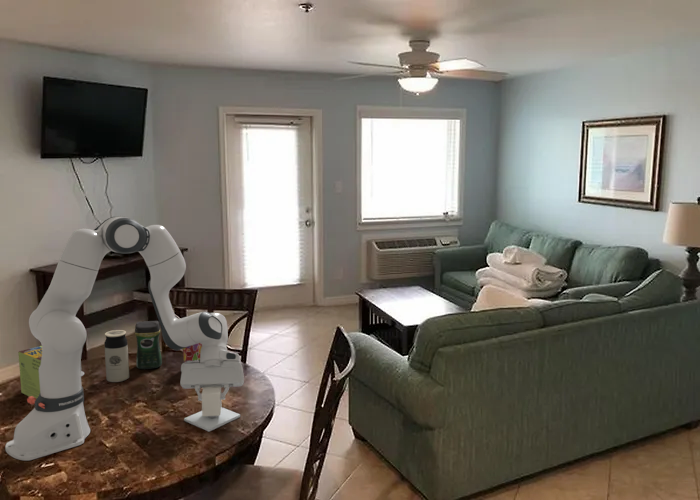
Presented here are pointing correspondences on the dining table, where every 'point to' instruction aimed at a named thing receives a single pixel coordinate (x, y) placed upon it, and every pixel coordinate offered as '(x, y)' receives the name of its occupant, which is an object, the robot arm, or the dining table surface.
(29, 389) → the protein box
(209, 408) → the cream rectangular block
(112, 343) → the travel mug
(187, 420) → the stud board
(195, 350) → the smoothie
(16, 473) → the dining table surface
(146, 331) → the coffee jar
